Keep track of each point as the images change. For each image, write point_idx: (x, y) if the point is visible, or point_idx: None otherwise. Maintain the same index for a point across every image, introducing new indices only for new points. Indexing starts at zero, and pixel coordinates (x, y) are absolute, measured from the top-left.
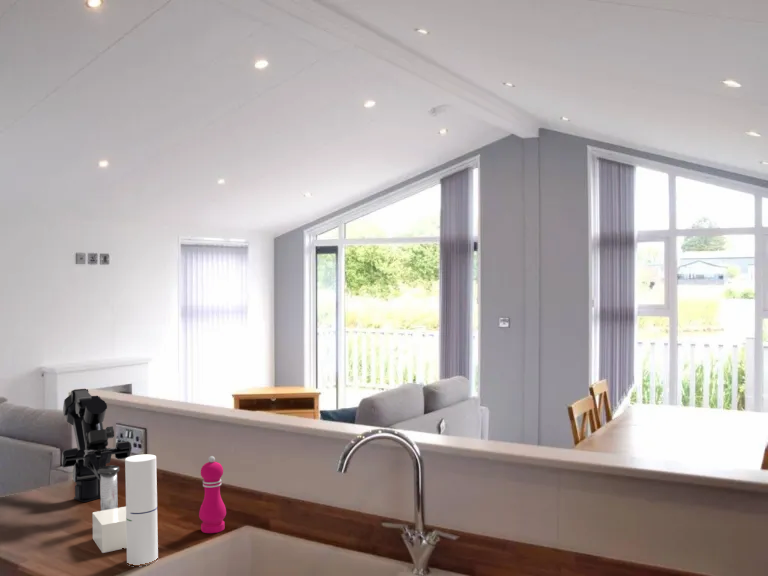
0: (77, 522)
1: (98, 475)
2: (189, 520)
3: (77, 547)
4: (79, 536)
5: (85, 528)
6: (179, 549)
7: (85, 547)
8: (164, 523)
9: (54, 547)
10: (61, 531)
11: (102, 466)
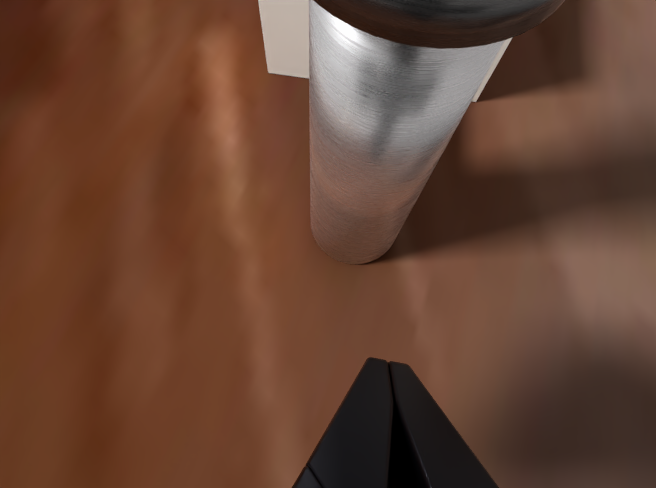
0: (486, 408)
1: (426, 390)
2: (39, 31)
3: (551, 55)
4: (520, 171)
5: (470, 265)
6: None
7: (523, 36)
8: (142, 70)
9: (638, 115)
10: (589, 309)
11: (352, 479)
